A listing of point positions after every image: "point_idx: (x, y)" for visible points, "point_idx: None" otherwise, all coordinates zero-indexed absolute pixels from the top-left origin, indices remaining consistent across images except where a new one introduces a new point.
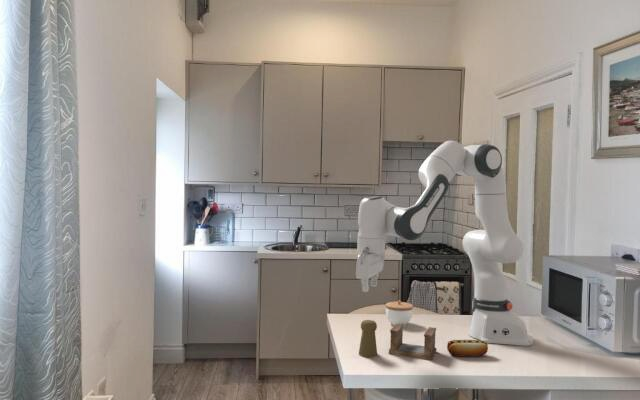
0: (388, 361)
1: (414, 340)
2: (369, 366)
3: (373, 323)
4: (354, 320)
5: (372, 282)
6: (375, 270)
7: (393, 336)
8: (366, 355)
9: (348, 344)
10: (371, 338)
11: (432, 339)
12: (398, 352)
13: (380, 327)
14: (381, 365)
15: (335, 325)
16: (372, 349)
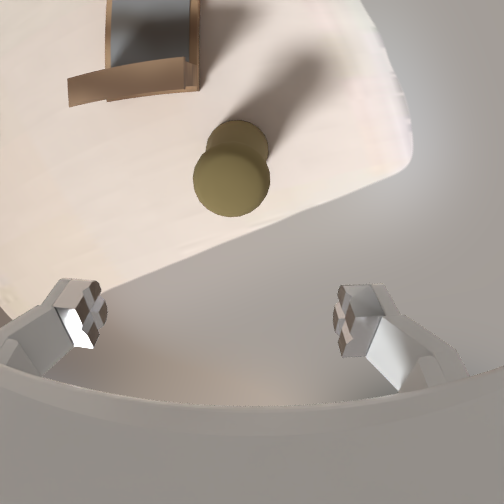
0: (278, 73)
1: (42, 75)
2: (346, 120)
3: (247, 157)
4: (11, 276)
5: (89, 326)
6: (179, 473)
7: (186, 74)
8: (267, 148)
9: (176, 231)
10: (256, 147)
11: None
12: (197, 58)
13: (5, 205)
14: (324, 87)
15: None
16: (257, 134)
